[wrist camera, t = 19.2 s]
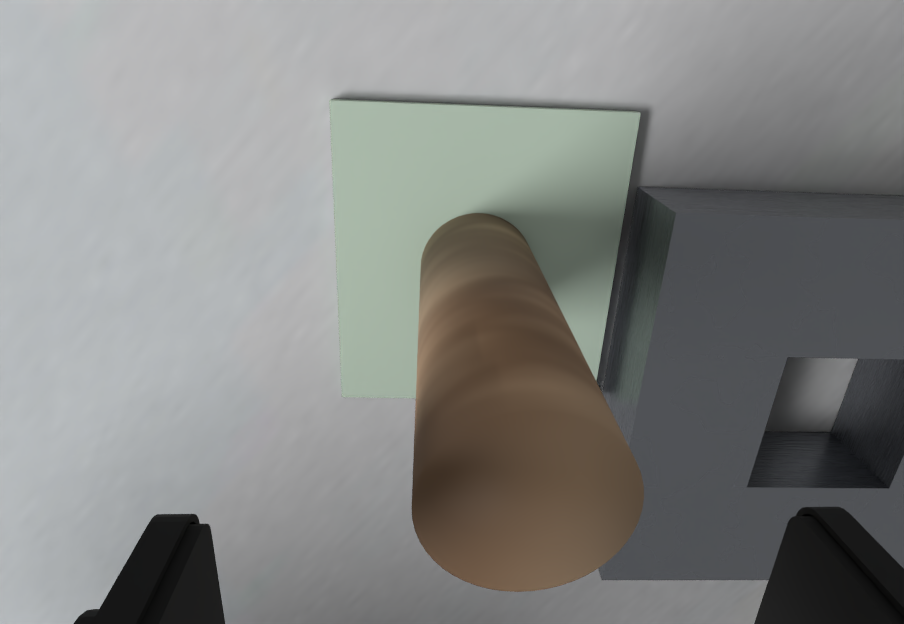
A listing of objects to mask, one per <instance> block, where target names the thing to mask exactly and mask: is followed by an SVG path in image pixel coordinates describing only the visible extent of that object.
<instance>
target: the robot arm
mask: <svg viewBox="0 0 904 624" xmlns="http://www.w3.org/2000/svg"><path fill="white" fill-rule="evenodd" d="M74 624H225V620H224V613H223V607H222V600H221V594H220V587H219V580H218V574H217V567H216V561H215V554H214V547H213V541H212V534H211V529H210V526H209V524H200V523H199V519H198V517H197V516H196V515H195V514H157V515H156V516H154V517H153V518H152V519H151V521H150V522H149V524H148V526H147V527H146V529H145V531H144V533H143V534H142V536H141V538H140V540H139V541H138V543H137V545H136V546H135V548H134V550H133V552H132V553H131V555H130V557H129V559H128V560H127V562H126V564H125V566H124V567H123V569H122V571H121V573H120V574H119V576H118V578H117V579H116V581H115V583H114V585H113V586H112V588H111V590H110V592H109V593H108V595H107V597H106V599H105V600H104V602H103V604H102V606H101V607H100V609H93V610H87V611H85V612H84V613H83V614H82V615H80V616H79V617H78V619H77V620H76V621H75V623H74ZM754 624H904V568H903V567H902V566H901V565H900V564H899V563H898V562H897V561H896V560H895V559H894V558H893V557H892V556H891V555H890V554H889V553H888V552H887V551H886V550H885V549H884V548H883V547H882V546H881V545H880V544H879V543H878V542H877V541H876V540H875V539H874V538H873V537H872V536H871V535H870V534H869V533H868V532H867V531H866V530H865V528H864V527H863V526H862V525H861V524H860V523H859V522H858V521H857V520H856V519H855V518H854V517H853V516H852V515H851V514H850V513H849V512H847V511H846V510H845V509H843V508H841V507H802V508H801V509H800V510H798V512H797V514H796V516H794V517H792V518H790V520H789V521H788V524H787V527H786V530H785V533H784V536H783V539H782V542H781V545H780V548H779V551H778V554H777V557H776V560H775V563H774V566H773V569H772V572H771V575H770V578H769V581H768V584H767V587H766V590H765V593H764V596H763V599H762V602H761V605H760V608H759V611H758V614H757V617H756V620H755V623H754Z"/></svg>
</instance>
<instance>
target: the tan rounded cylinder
mask: <svg viewBox="0 0 904 624" xmlns="http://www.w3.org/2000/svg"><path fill="white" fill-rule="evenodd" d="M643 501H644V485H643V480H642V475H641V472H640V469H639V467H638V464H637V462H636V460H635V458H634V456H633V454H632V452H631V450H630V448H629V446H628V444H627V442H626V440H625V438H624V436H623V434H622V432H621V430H620V428H619V426H618V424H617V422H616V420H615V418H614V416H613V414H612V412H611V410H610V408H609V406H608V404H607V402H606V400H605V398H604V396H603V394H602V392H601V390H600V388H599V386H598V384H597V382H596V380H595V378H594V376H593V374H592V372H591V370H590V368H589V366H588V364H587V362H586V360H585V358H584V356H583V354H582V352H581V350H580V347H579V345H578V343H577V341H576V339H575V337H574V335H573V333H572V331H571V329H570V327H569V325H568V323H567V321H566V319H565V317H564V315H563V313H562V311H561V309H560V307H559V305H558V303H557V301H556V299H555V297H554V295H553V293H552V291H551V289H550V287H549V285H548V283H547V281H546V279H545V277H544V275H543V273H542V271H541V269H540V267H539V265H538V263H537V261H536V259H535V257H534V255H533V253H532V251H531V249H530V247H529V245H528V243H527V241H526V239H525V238H524V236H523V235H522V234H521V232H520V231H519V230H518V229H517V228H516V227H515V226H514V225H512V224H511V223H510V222H508V221H506V220H504V219H502V218H500V217H497V216H495V215H490V214H484V213H472V214H465V215H462V216H458V217H456V218H454V219H451V220H450V221H448V222H446V223H445V224H443V225H442V226H441V227H439V228H438V229H437V230H436V231H435V232H434V233H433V235H432V236H431V237H430V239H429V240H428V242H427V244H426V246H425V248H424V251H423V254H422V258H421V270H420V298H419V325H418V352H417V380H416V407H415V434H414V462H413V489H412V518H413V523H414V528H415V531H416V534H417V536H418V538H419V541H420V543H421V544H422V546H423V547H424V549H425V551H426V552H427V553H428V554H429V555H430V557H431V558H432V559H433V560H434V561H435V562H436V563H437V564H438V565H440V566H441V567H442V568H443V569H445V570H446V571H448V572H449V573H451V574H452V575H454V576H456V577H458V578H460V579H462V580H464V581H466V582H468V583H471V584H474V585H477V586H480V587H484V588H488V589H494V590H501V591H515V592H521V591H535V590H542V589H548V588H552V587H556V586H560V585H563V584H566V583H569V582H572V581H575V580H577V579H579V578H581V577H584V576H586V575H587V574H589V573H591V572H593V571H594V570H596V569H598V568H599V567H601V566H602V565H603V564H605V563H606V562H607V561H609V560H610V559H611V558H612V557H613V556H614V555H615V554H616V553H618V552H619V550H620V549H621V548H622V547H623V546H624V545H625V543H626V542H627V541H628V539H629V538H630V536H631V535H632V533H633V532H634V530H635V528H636V526H637V523H638V521H639V518H640V515H641V512H642V508H643Z"/></svg>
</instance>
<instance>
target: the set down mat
mask: <svg viewBox="0 0 904 624" xmlns="http://www.w3.org/2000/svg"><path fill="white" fill-rule="evenodd" d="M329 104H330V127H331V151H332V175H333V198H334V222H335V246H336V270H337V293H338V317H339V341H340V364H341V388H342V397H368V398H416V380H417V352H418V325H419V298H420V270H421V258H422V254H423V251H424V248H425V246H426V244H427V242H428V240H429V239H430V237H431V236H432V235H433V233H434V232H435V231H436V230H437V229H438V228H439V227H441V226H442V225H443V224H445V223H446V222H448V221H450V220H451V219H454V218H456V217H458V216H462V215H465V214H472V213H484V214H490V215H495V216H497V217H500V218H502V219H504V220H506V221H508V222H510V223H511V224H512V225H514V226H515V227H516V228H517V229H518V230H519V231H520V232H521V234H522V235H523V236H524V238H525V239H526V241H527V243H528V245H529V247H530V249H531V251H532V253H533V255H534V257H535V259H536V261H537V263H538V265H539V267H540V269H541V271H542V273H543V275H544V277H545V279H546V281H547V283H548V285H549V287H550V289H551V291H552V293H553V295H554V297H555V299H556V301H557V303H558V305H559V307H560V309H561V311H562V313H563V315H564V317H565V319H566V321H567V323H568V325H569V327H570V329H571V331H572V333H573V335H574V337H575V339H576V341H577V343H578V345H579V347H580V350H581V352H582V354H583V356H584V358H585V360H586V362H587V364H588V366H589V368H590V370H591V372H592V374H593V376H594V378H595V380H596V381H597V375H598V369H599V363H600V357H601V351H602V345H603V339H604V333H605V327H606V321H607V315H608V308H609V302H610V296H611V290H612V284H613V278H614V272H615V266H616V260H617V254H618V248H619V242H620V236H621V230H622V224H623V218H624V212H625V205H626V199H627V193H628V187H629V181H630V175H631V169H632V163H633V157H634V151H635V145H636V139H637V133H638V127H639V121H640V115H641V113H640V112H637V111H617V110H592V109H568V108H543V107H518V106H493V105H468V104H444V103H419V102H394V101H369V100H344V99H331V100H329Z"/></svg>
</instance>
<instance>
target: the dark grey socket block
mask: <svg viewBox="0 0 904 624" xmlns="http://www.w3.org/2000/svg"><path fill="white" fill-rule="evenodd" d="M788 357H803V358H855V359H858V361H857V364H856V367H855V370H854V372H853V375H852V378H851V380H850V383H849V386H848V388H847V391H846V394H845V396H844V399H843V402H842V405H841V407H840V410H839V413H838V415H837V418H836V421H835V423H834V426H833V429H832V432H831V433H816V432H764V431H765V428H766V425H767V421H768V418H769V415H770V412H771V409H772V406H773V402H774V399H775V396H776V393H777V390H778V386H779V383H780V380H781V377H782V374H783V371H784V367H785V364H786V361H787V358H788ZM602 394H603V396H604V398H605V400H606V402H607V404H608V406H609V408H610V410H611V412H612V414H613V416H614V418H615V420H616V422H617V424H618V426H619V428H620V430H621V432H622V434H623V436H624V438H625V440H626V442H627V444H628V446H629V448H630V450H631V452H632V454H633V456H634V458H635V460H636V462H637V464H638V467H639V469H640V472H641V475H642V480H643V485H644V501H643V508H642V512H641V515H640V518H639V521H638V523H637V526H636V528H635V530H634V532H633V533H632V535H631V536H630V538H629V539H628V541H627V542H626V543H625V545H624V546H623V547H622V548H621V549H620V550H619V552H618V553H616V554H615V555H614V556H613V557H612V558H611V559H610V560H609V561H607V562H606V563H605V564H603V565H602V566H601V567H599V568H598V569H599V572H600V575H601V579H602V580H769V578H770V575H771V572H772V569H773V566H774V563H775V560H776V557H777V554H778V551H779V548H780V545H781V542H782V539H783V536H784V533H785V530H786V527H787V524H788V521H789V520H790V518H792V517H794V516H796V514H797V512H798V510H800V509H801V508H802V507H841V508H843V509H845V510H846V511H847V512H849V513H850V514H851V515H852V516H853V517H854V518H855V519H856V520H857V521H858V522H859V523H860V524H861V525H862V526H863V527H864V528H865V530H866V531H867V532H868V533H869V534H870V535H871V536H872V537H873V538H874V539H875V540H876V541H877V542H878V543H879V544H880V545H881V546H882V547H883V548H884V549H885V550H886V551H887V552H888V553H889V554H890V555H891V556H892V557H893V558H894V559H895V560H896V561H897V562H898V563H899V564H900V565H901V566H902V567H903V568H904V196H891V195H861V194H831V193H802V192H772V191H742V190H713V189H683V188H653V187H638V188H637V194H636V200H635V206H634V212H633V218H632V223H631V229H630V235H629V241H628V247H627V253H626V258H625V264H624V270H623V276H622V282H621V287H620V293H619V299H618V305H617V311H616V317H615V322H614V328H613V334H612V340H611V346H610V352H609V357H608V363H607V369H606V375H605V381H604V387H603V392H602Z"/></svg>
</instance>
